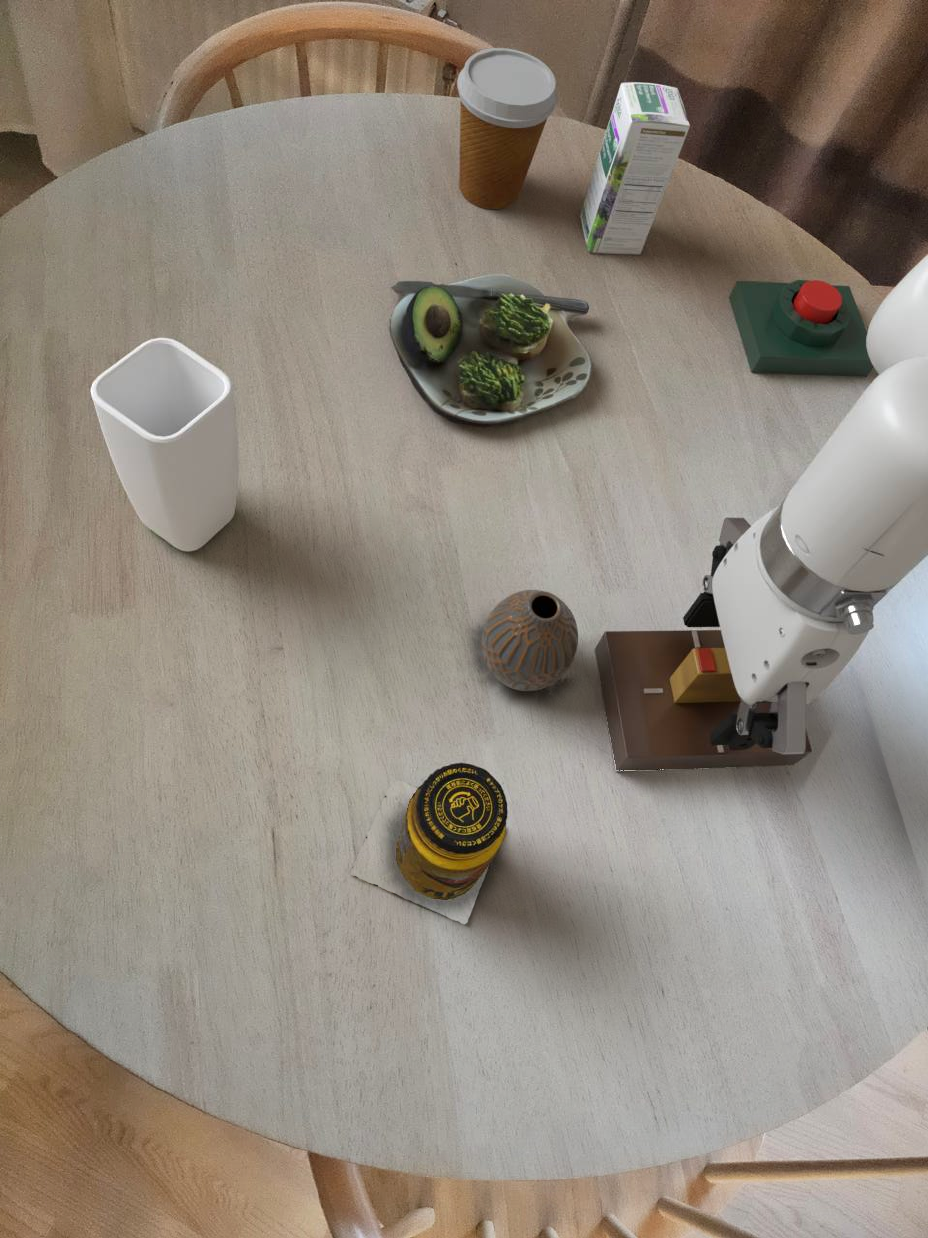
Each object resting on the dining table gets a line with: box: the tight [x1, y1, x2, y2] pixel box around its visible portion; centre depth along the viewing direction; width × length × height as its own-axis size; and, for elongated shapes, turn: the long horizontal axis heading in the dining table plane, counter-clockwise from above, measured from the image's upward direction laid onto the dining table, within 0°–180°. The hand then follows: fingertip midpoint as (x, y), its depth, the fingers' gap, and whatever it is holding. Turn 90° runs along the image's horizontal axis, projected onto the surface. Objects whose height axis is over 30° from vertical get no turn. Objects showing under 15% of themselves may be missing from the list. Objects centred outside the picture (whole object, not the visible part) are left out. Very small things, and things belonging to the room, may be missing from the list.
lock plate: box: [594, 629, 813, 771], centre depth 71 cm, size 14×10×3 cm
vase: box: [481, 589, 579, 692], centre depth 68 cm, size 7×7×9 cm
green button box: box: [728, 279, 874, 378], centre depth 92 cm, size 12×10×4 cm
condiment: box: [396, 762, 508, 900], centre depth 59 cm, size 7×8×12 cm
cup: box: [89, 337, 240, 552], centre depth 67 cm, size 7×7×15 cm
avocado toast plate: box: [388, 273, 593, 428], centre depth 85 cm, size 19×18×5 cm
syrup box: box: [579, 81, 691, 255], centre depth 90 cm, size 6×6×14 cm
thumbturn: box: [670, 648, 741, 703], centre depth 67 cm, size 6×2×5 cm, turn 95°
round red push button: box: [793, 279, 842, 324], centre depth 90 cm, size 4×4×2 cm
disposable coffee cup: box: [456, 47, 559, 210], centre depth 92 cm, size 10×10×12 cm
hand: (716, 679), depth 68 cm, fingers open, 8 cm apart
